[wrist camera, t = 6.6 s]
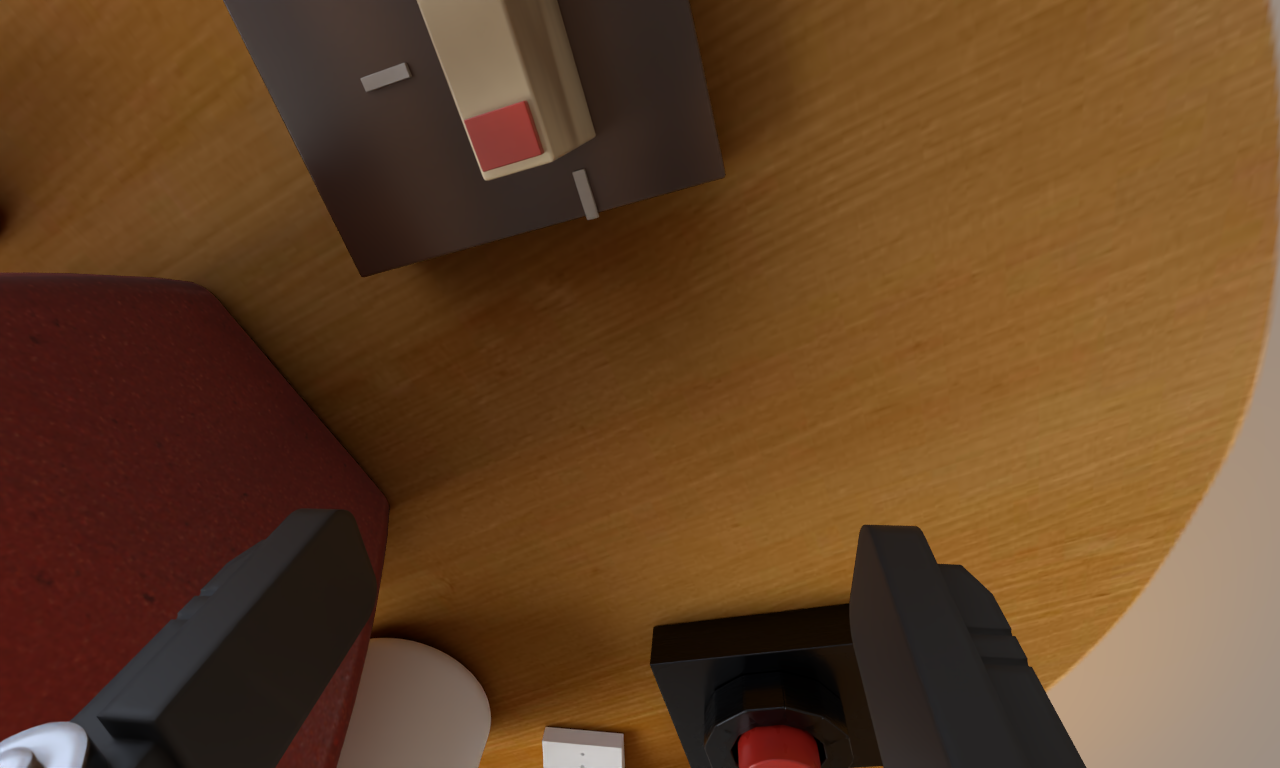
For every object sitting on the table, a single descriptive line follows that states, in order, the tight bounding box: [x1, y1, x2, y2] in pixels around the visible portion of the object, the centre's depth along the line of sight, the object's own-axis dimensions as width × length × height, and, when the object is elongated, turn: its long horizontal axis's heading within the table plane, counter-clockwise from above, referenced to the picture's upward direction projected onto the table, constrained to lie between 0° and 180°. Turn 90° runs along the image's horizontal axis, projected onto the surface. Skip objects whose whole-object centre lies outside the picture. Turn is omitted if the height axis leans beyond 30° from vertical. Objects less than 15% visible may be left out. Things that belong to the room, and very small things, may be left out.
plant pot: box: [0, 273, 389, 768], centre depth 20 cm, size 19×19×17 cm
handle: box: [417, 0, 596, 181], centre depth 13 cm, size 6×2×5 cm, turn 16°
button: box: [738, 725, 821, 768], centre depth 27 cm, size 4×4×2 cm
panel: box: [223, 0, 726, 277], centre depth 17 cm, size 13×10×3 cm
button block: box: [650, 604, 883, 768], centre depth 29 cm, size 10×9×4 cm
